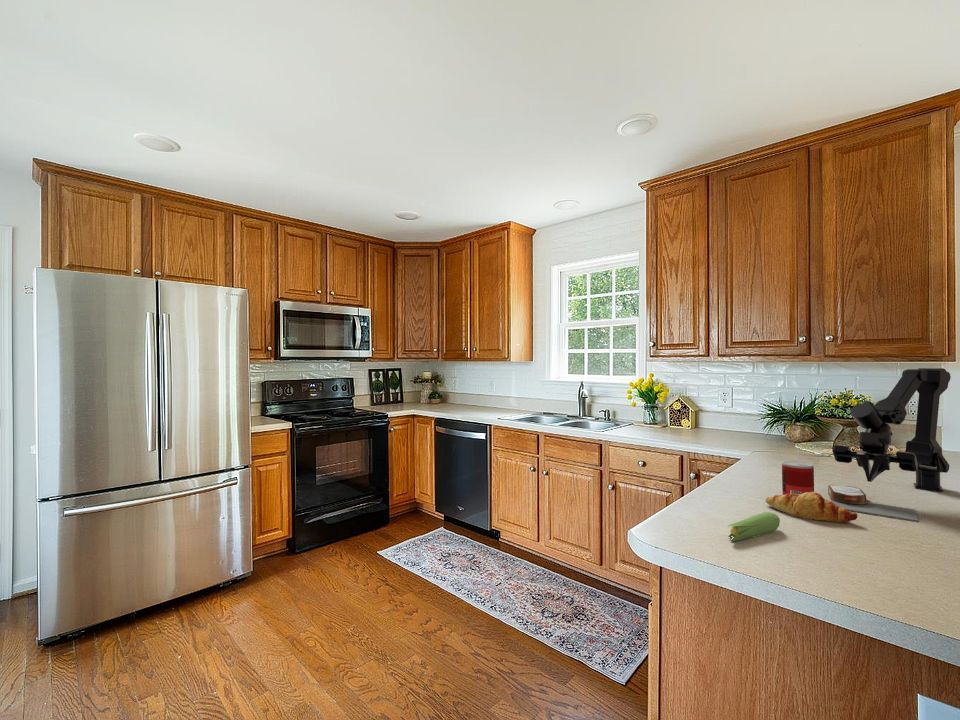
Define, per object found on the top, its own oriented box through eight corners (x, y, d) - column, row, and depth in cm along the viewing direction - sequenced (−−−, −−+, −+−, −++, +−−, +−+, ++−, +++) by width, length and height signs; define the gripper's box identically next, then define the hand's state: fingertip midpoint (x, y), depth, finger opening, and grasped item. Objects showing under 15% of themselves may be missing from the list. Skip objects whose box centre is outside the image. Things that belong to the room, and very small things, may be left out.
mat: (832, 498, 137) (832, 497, 137) (914, 510, 125) (914, 509, 125) (830, 507, 128) (830, 506, 128) (918, 521, 116) (918, 520, 116)
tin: (859, 494, 140) (825, 493, 145) (858, 484, 140) (824, 483, 145) (870, 506, 127) (833, 503, 132) (869, 494, 128) (831, 492, 132)
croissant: (762, 520, 130) (756, 498, 127) (772, 497, 135) (767, 476, 133) (856, 540, 113) (850, 515, 111) (863, 513, 119) (858, 489, 117)
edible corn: (788, 515, 111) (770, 505, 115) (734, 532, 102) (717, 520, 106) (782, 533, 112) (765, 522, 116) (729, 551, 104) (712, 538, 108)
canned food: (820, 503, 133) (820, 466, 133) (793, 503, 133) (792, 466, 133) (802, 495, 140) (801, 460, 140) (776, 495, 140) (776, 460, 141)
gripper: (833, 419, 141) (823, 459, 134) (915, 424, 127) (909, 470, 120) (840, 441, 146) (831, 480, 139) (919, 449, 132) (914, 493, 125)
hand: (869, 480), depth 130 cm, fingers closed
